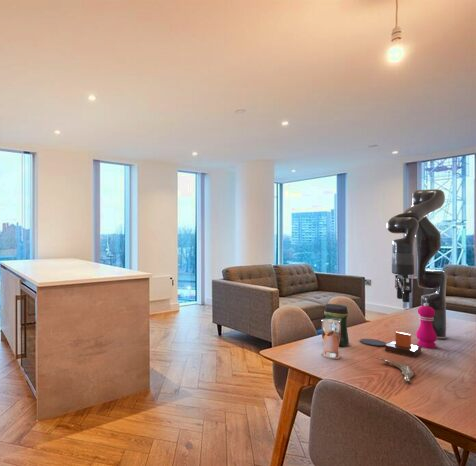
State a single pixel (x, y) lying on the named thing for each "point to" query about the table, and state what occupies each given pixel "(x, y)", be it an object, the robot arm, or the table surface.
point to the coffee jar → (338, 319)
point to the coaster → (373, 342)
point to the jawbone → (403, 367)
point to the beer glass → (331, 338)
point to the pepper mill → (426, 327)
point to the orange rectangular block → (403, 339)
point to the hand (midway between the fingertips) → (403, 300)
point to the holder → (403, 349)
